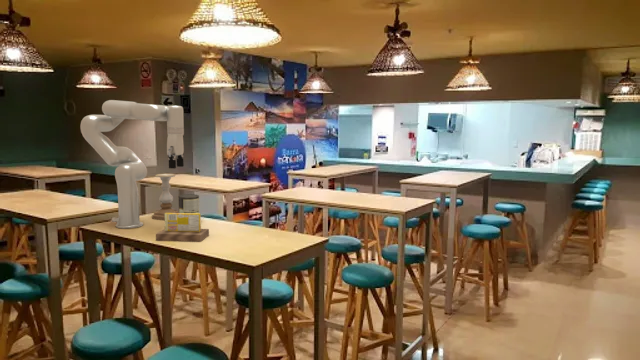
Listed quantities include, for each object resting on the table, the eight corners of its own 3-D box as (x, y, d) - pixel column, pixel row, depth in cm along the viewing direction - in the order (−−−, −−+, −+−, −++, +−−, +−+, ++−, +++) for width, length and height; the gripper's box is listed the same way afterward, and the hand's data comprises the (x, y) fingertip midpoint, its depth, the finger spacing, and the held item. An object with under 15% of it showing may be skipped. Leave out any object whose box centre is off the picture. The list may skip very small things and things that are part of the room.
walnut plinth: (155, 240, 202) (155, 233, 202) (166, 234, 214) (166, 227, 214) (200, 241, 201) (200, 235, 201) (208, 235, 213) (208, 229, 213)
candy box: (201, 231, 208) (200, 213, 207) (199, 232, 206) (199, 214, 205) (166, 230, 209) (166, 212, 208) (164, 231, 207) (164, 213, 206)
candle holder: (166, 215, 258) (165, 173, 255) (181, 217, 253) (180, 174, 251) (151, 218, 248) (150, 174, 246) (166, 220, 244) (165, 176, 241)
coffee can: (175, 223, 238) (174, 196, 236) (186, 219, 247) (186, 193, 246) (192, 225, 235) (191, 197, 233) (203, 221, 244) (202, 194, 243)
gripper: (174, 131, 228) (175, 165, 230) (160, 131, 211) (161, 168, 213) (189, 131, 228) (190, 166, 230) (176, 132, 211) (177, 169, 213)
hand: (176, 167), depth 222 cm, fingers open, 9 cm apart
